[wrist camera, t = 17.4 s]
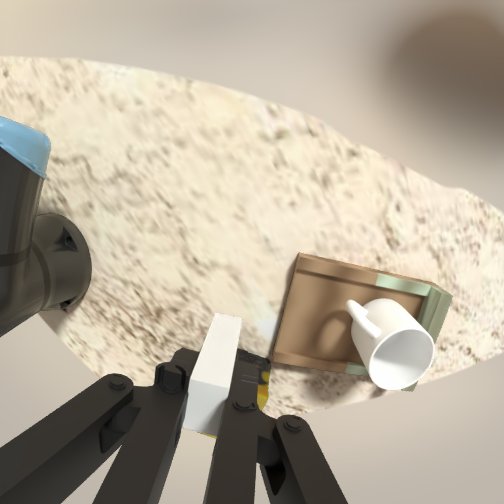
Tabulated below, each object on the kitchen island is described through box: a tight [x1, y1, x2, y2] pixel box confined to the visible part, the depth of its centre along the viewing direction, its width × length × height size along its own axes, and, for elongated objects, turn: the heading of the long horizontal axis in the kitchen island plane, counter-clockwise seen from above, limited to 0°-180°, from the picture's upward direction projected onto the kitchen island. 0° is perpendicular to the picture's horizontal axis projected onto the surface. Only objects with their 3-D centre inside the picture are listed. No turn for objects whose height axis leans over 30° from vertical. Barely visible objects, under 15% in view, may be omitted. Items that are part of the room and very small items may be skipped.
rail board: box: [273, 253, 453, 391], centre depth 41 cm, size 21×15×6 cm
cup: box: [345, 298, 435, 390], centre depth 37 cm, size 8×12×10 cm
